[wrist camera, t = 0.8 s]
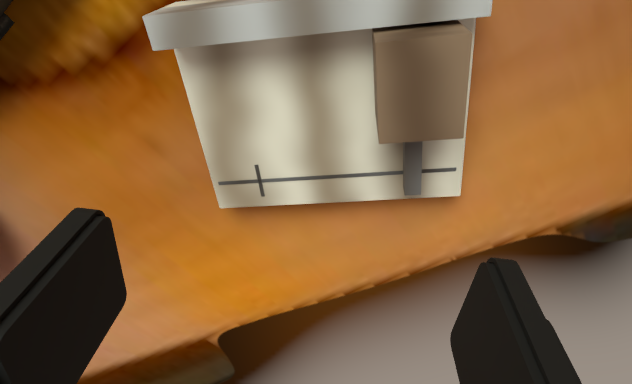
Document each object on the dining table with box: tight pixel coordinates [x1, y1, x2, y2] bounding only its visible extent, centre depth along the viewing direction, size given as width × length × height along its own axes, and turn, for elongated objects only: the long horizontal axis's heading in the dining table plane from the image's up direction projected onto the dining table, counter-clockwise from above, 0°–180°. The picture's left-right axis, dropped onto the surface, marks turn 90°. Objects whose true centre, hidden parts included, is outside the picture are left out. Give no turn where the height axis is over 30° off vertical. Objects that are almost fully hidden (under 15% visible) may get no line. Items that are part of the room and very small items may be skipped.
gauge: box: [372, 20, 472, 196], centre depth 27 cm, size 5×12×5 cm, turn 6°
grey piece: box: [142, 0, 492, 208], centre depth 30 cm, size 20×16×6 cm
